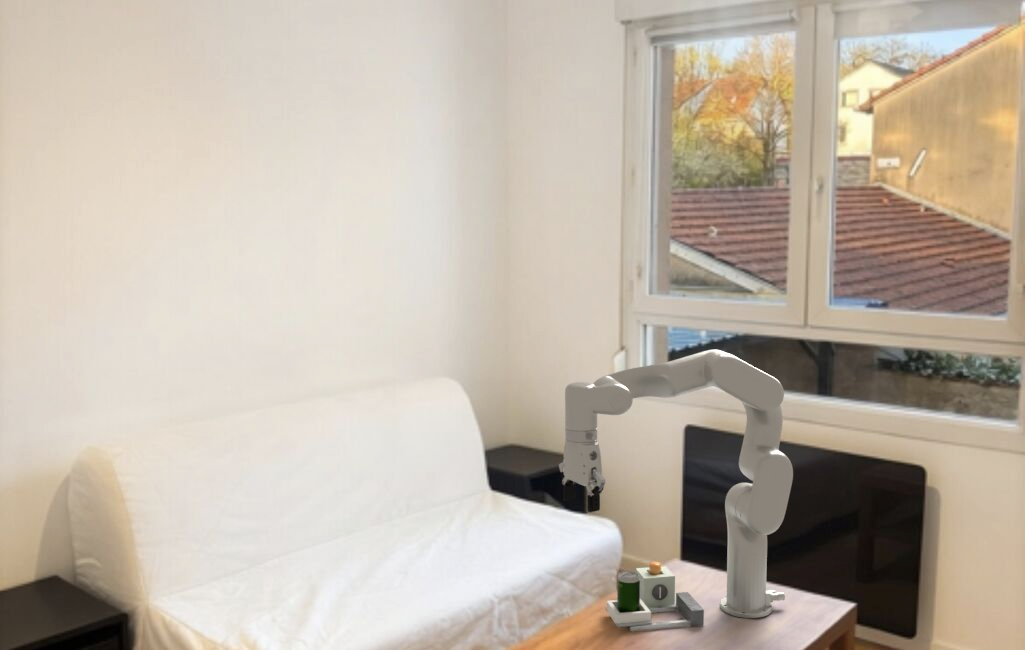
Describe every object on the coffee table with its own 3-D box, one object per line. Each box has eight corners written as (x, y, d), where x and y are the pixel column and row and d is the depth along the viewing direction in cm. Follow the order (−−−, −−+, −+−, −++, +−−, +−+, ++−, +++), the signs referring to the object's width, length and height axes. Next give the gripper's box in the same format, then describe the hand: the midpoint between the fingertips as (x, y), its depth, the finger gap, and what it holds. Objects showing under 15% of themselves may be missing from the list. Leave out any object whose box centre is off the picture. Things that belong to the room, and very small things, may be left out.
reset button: (658, 570, 248) (659, 561, 247) (662, 575, 245) (662, 565, 244) (647, 571, 247) (647, 562, 247) (651, 575, 244) (651, 566, 244)
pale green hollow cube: (665, 595, 251) (665, 565, 250) (675, 607, 244) (675, 576, 243) (635, 598, 250) (635, 568, 249) (644, 610, 242) (644, 579, 241)
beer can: (627, 629, 232) (627, 580, 230) (612, 621, 236) (612, 573, 235) (644, 623, 235) (644, 575, 233) (629, 615, 239) (629, 568, 238)
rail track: (687, 607, 244) (687, 592, 243) (703, 625, 233) (703, 609, 232) (618, 613, 241) (618, 597, 240) (631, 632, 230) (631, 616, 229)
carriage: (638, 606, 241) (638, 596, 241) (652, 623, 231) (652, 613, 230) (605, 608, 240) (605, 599, 239) (617, 627, 229) (617, 616, 229)
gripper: (616, 440, 224) (616, 512, 226) (573, 426, 239) (573, 494, 241) (589, 445, 220) (590, 518, 222) (547, 430, 235) (548, 499, 237)
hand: (581, 505), depth 231 cm, fingers open, 9 cm apart
